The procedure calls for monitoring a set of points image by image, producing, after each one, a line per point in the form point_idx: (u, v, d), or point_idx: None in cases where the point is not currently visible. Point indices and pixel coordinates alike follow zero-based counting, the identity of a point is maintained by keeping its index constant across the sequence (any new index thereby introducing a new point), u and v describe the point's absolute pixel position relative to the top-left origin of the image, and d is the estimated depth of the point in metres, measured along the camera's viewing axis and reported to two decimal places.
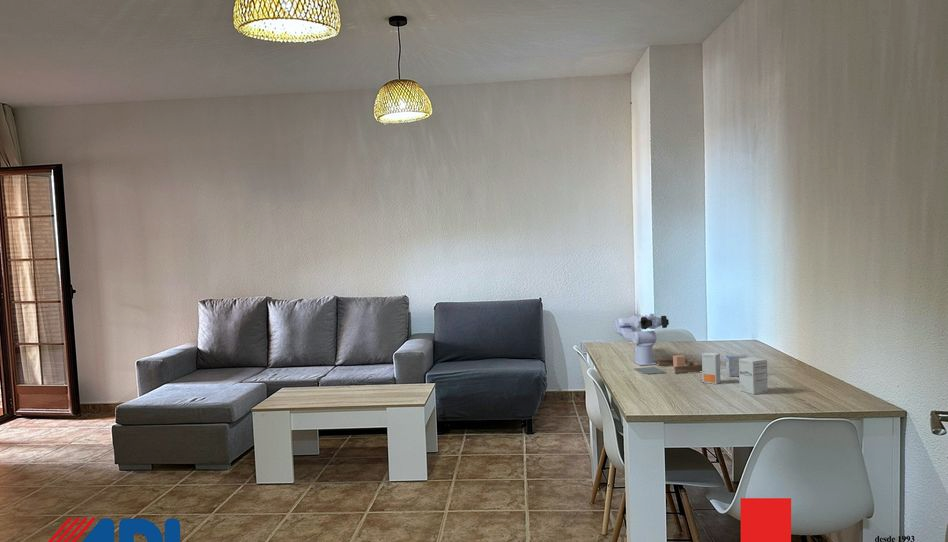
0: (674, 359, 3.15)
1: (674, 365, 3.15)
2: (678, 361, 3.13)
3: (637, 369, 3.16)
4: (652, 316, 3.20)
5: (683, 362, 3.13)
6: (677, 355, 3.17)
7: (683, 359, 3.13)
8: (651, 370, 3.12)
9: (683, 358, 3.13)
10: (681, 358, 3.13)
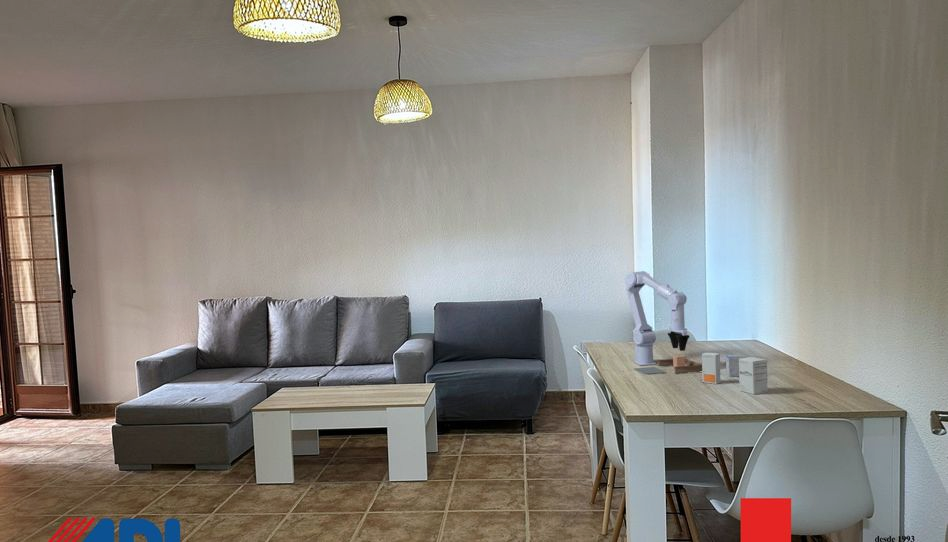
0: (674, 359, 3.15)
1: (674, 365, 3.15)
2: (678, 361, 3.13)
3: (637, 369, 3.16)
4: None
5: (683, 362, 3.13)
6: (677, 355, 3.16)
7: (683, 359, 3.13)
8: (651, 370, 3.12)
9: (683, 358, 3.13)
10: (681, 358, 3.13)
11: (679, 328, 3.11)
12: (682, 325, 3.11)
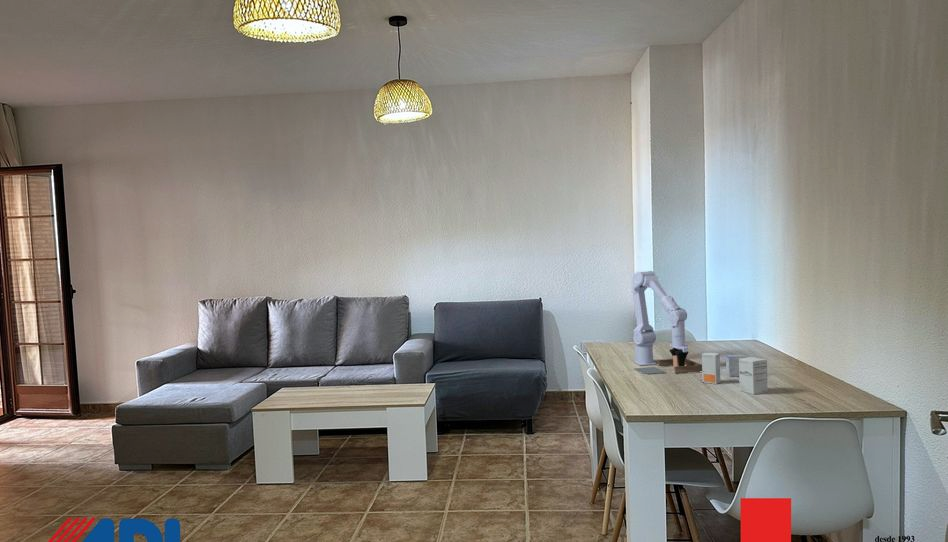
0: (674, 359, 3.15)
1: (674, 365, 3.15)
2: None
3: (637, 369, 3.16)
4: None
5: None
6: None
7: None
8: (651, 370, 3.12)
9: None
10: None
11: (680, 344, 3.12)
12: (683, 341, 3.12)
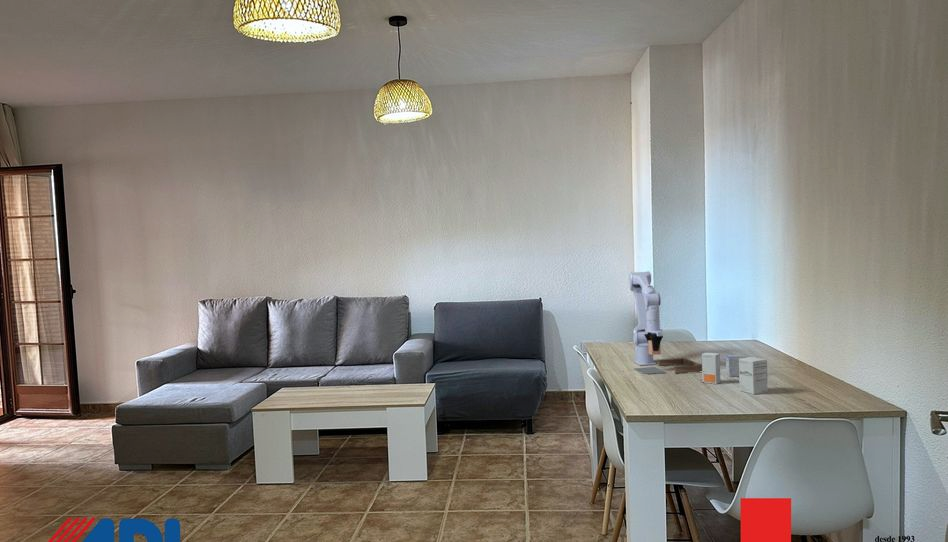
0: (649, 344, 3.13)
1: (649, 350, 3.13)
2: None
3: (637, 369, 3.16)
4: None
5: None
6: None
7: None
8: (651, 370, 3.12)
9: None
10: None
11: (654, 329, 3.10)
12: (657, 326, 3.10)
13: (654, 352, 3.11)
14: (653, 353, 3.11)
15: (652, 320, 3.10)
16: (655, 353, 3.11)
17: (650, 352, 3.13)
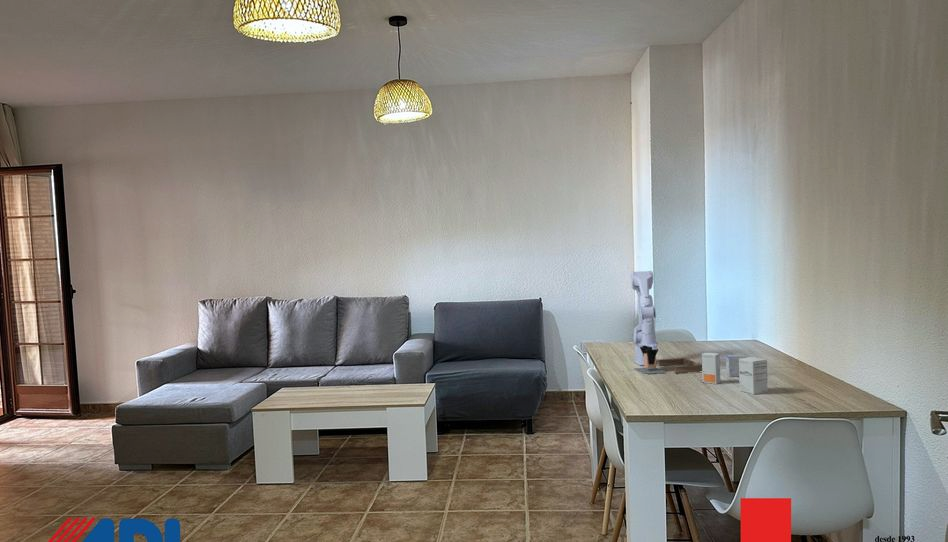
0: (645, 357, 3.13)
1: (645, 363, 3.13)
2: None
3: (637, 369, 3.16)
4: None
5: None
6: None
7: None
8: (651, 370, 3.12)
9: None
10: None
11: (649, 342, 3.10)
12: (652, 339, 3.10)
13: (650, 365, 3.11)
14: (648, 366, 3.11)
15: (647, 333, 3.10)
16: (650, 366, 3.11)
17: (645, 365, 3.13)
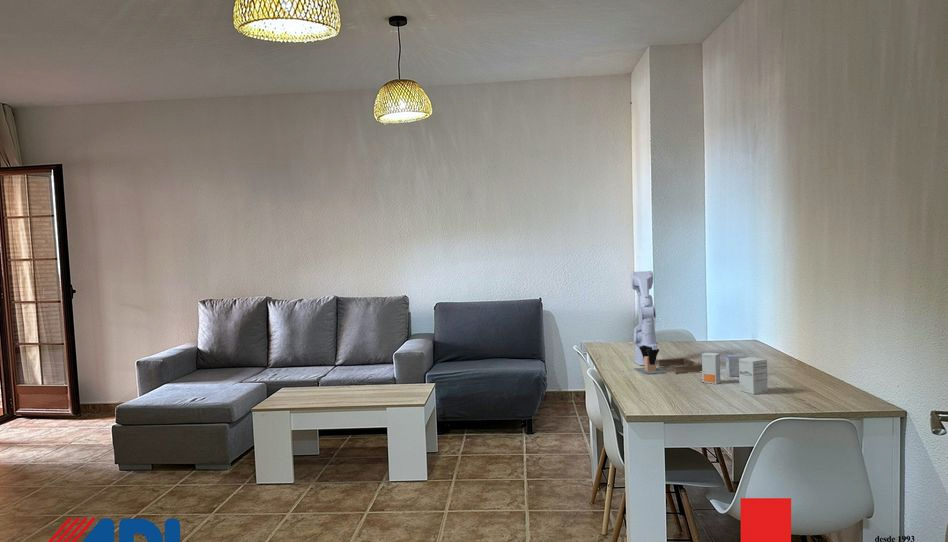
0: (645, 360, 3.13)
1: (645, 366, 3.13)
2: None
3: (637, 369, 3.16)
4: None
5: None
6: None
7: None
8: None
9: None
10: None
11: (649, 342, 3.10)
12: (652, 339, 3.10)
13: (650, 368, 3.11)
14: (649, 369, 3.11)
15: (647, 333, 3.10)
16: (651, 369, 3.11)
17: (646, 368, 3.13)
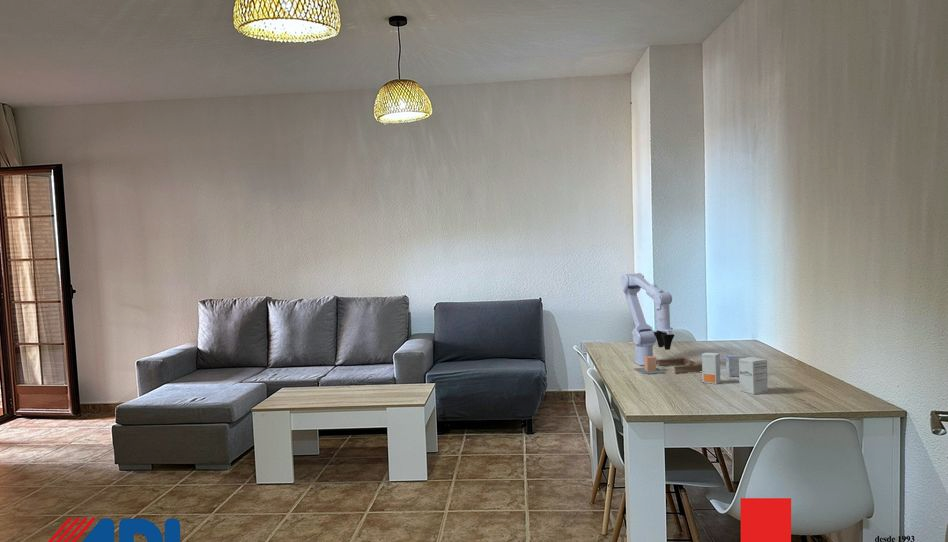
0: (645, 360, 3.13)
1: (645, 366, 3.13)
2: (649, 362, 3.11)
3: (637, 369, 3.16)
4: None
5: (654, 363, 3.11)
6: (648, 356, 3.15)
7: (654, 360, 3.11)
8: None
9: (654, 359, 3.11)
10: (652, 359, 3.11)
11: (664, 327, 3.14)
12: (667, 324, 3.14)
13: (650, 368, 3.11)
14: (649, 369, 3.11)
15: (662, 319, 3.14)
16: (651, 369, 3.11)
17: (646, 368, 3.13)
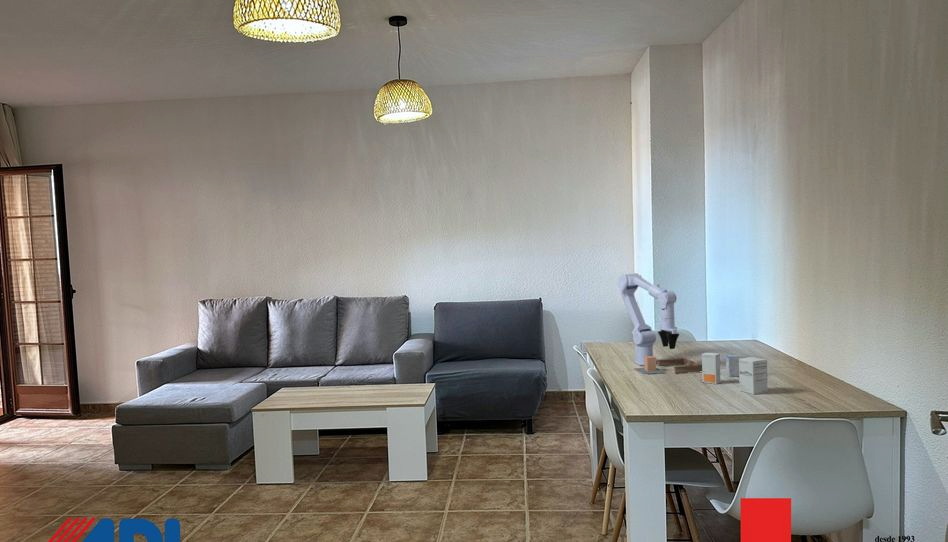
0: (645, 360, 3.13)
1: (645, 366, 3.13)
2: (649, 362, 3.11)
3: (637, 369, 3.16)
4: None
5: (654, 363, 3.11)
6: (648, 356, 3.15)
7: (654, 360, 3.11)
8: None
9: (654, 359, 3.11)
10: (652, 359, 3.11)
11: (669, 326, 3.15)
12: (672, 324, 3.15)
13: (650, 368, 3.11)
14: (649, 369, 3.11)
15: (667, 318, 3.15)
16: (651, 369, 3.11)
17: (646, 368, 3.13)
